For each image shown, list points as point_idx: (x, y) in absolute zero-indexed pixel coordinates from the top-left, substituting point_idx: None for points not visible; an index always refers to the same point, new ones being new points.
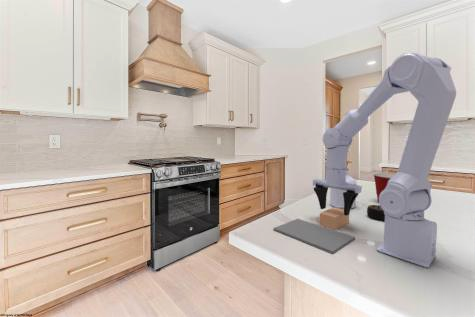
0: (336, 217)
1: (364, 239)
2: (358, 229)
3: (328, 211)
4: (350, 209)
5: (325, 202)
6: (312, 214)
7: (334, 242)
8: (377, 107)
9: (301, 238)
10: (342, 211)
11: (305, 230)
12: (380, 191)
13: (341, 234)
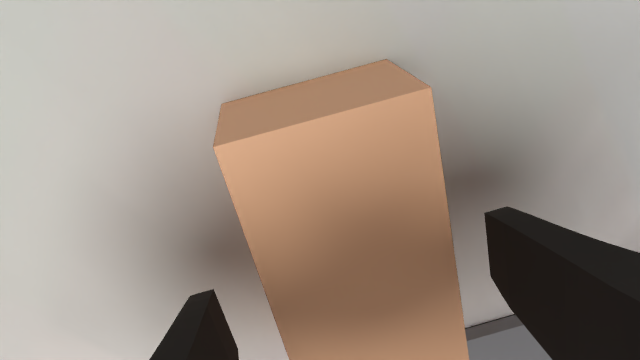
0: (467, 357)
1: (632, 244)
2: (531, 132)
3: (314, 322)
4: (549, 224)
5: (203, 342)
6: (29, 222)
7: None
8: None
9: None
10: (398, 187)
11: None
12: None
13: (526, 348)
